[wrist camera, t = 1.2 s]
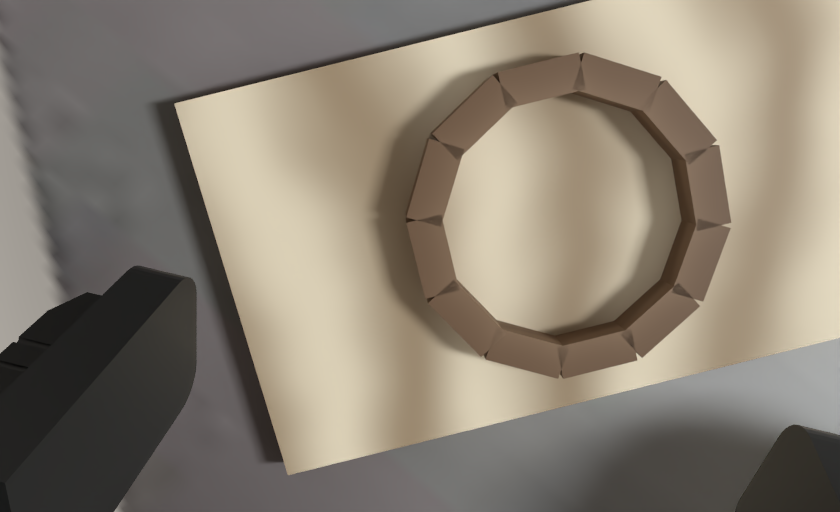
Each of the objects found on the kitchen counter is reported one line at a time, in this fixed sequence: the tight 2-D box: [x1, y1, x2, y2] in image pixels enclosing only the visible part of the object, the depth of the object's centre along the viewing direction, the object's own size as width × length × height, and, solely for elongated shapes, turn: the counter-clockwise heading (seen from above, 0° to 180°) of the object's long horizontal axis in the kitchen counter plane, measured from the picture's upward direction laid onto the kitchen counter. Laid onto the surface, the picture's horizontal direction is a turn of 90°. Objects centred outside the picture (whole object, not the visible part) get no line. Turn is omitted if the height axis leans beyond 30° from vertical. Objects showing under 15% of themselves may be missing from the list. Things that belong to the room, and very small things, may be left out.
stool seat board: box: [174, 0, 840, 475], centre depth 24 cm, size 24×14×2 cm, turn 104°
